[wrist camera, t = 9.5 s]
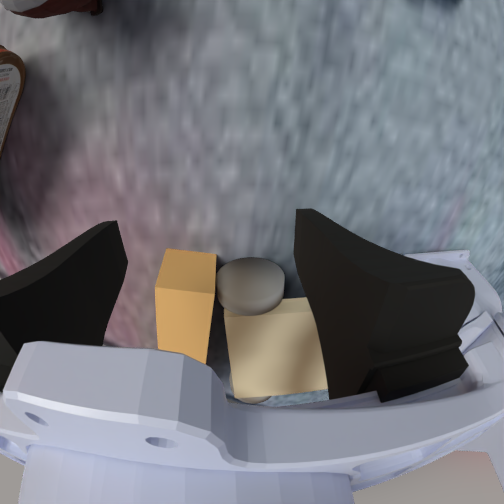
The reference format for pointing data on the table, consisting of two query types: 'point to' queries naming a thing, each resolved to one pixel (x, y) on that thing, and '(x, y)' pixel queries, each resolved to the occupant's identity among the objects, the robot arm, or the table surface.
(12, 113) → the tin
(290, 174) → the table surface
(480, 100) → the table surface
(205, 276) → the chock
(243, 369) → the trolley
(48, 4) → the mate gourd
